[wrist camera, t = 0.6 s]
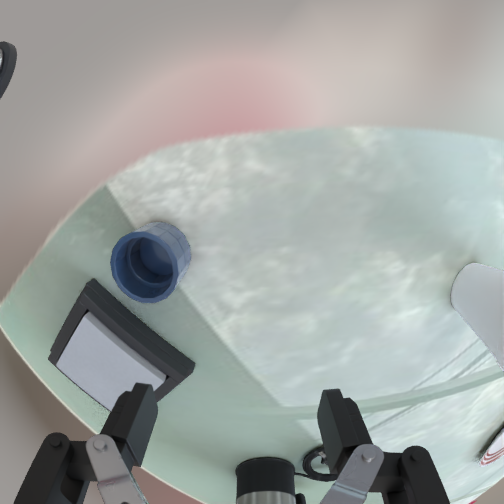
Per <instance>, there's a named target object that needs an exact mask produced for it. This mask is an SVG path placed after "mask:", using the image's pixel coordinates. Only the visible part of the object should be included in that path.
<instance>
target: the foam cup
mask: <svg viewBox="0 0 504 504" xmlns="http://www.w3.org/2000/svg"><path fill="white" fill-rule="evenodd" d="M451 304H452V306H453V307H454V309H455V310H456V311H457V312H458V314H459V315H460V316H461V317H462V318H463V319H464V320H465V322H466V323H467V324H468V325H469V326H470V327H471V329H472V330H473V331H474V332H475V333H476V335H477V336H478V337H479V338H480V339H481V341H482V342H483V343H484V344H485V346H486V347H487V348H488V349H489V351H490V352H491V353H492V355H493V356H494V357H495V359H496V362H497V363H498V365H499V367H500V368H501V369H502V370H503V371H504V270H500V269H497V268H493V267H490V266H486V265H482V264H479V263H471V264H468V265H466V266H465V267H464V268H463V269H462V270H461V271H460V272H459V273H458V275H457V277H456V279H455V281H454V283H453V286H452V291H451Z"/></svg>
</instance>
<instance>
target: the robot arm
mask: <svg viewBox="0 0 504 504" xmlns="http://www.w3.org/2000/svg"><path fill="white" fill-rule="evenodd" d="M3 64H4V52H3V50H2V49H0V74H1V71H2V68H3ZM157 414H158V406H157V402H156V398H155V394H154V390H153V386H152V385H151V384H145V383H138V382H136V383H135V385H134V387H133V389H132V391H125V392H124V393H122V394H121V395H120V396H119V397H118V399H117V401H116V403H115V406H114V407H113V409H112V412H110V414H109V416H108V418H107V420H106V422H105V424H104V426H103V428H102V430H101V432H100V434H98V435H94V436H92V437H91V438H89V439H88V441H70V440H69V439H68V437H67V436H66V435H64V434H62V433H51V434H49V435H48V436H47V437H46V438H45V440H44V441H43V443H42V445H41V447H40V449H39V451H38V453H37V455H36V457H35V459H34V461H33V463H32V465H31V467H30V469H29V471H28V473H27V475H26V477H25V479H24V481H23V484H22V486H21V488H20V490H19V492H18V495H17V497H16V499H15V501H14V504H83V501H84V498H85V495H86V492H87V489H88V486H89V483H90V481H98V484H97V486H98V490H99V492H100V494H101V496H102V499H103V501H104V504H149V503H148V501H147V500H146V498H145V497H144V495H143V493H142V491H141V489H140V488H139V486H138V484H137V482H136V480H135V479H134V477H133V475H132V473H131V470H132V467H133V466H138V467H141V464H142V461H143V458H144V455H145V452H146V449H147V446H148V442H149V439H150V436H151V433H152V430H153V427H154V424H155V421H156V418H157ZM317 419H318V425H319V429H320V433H321V437H322V441H323V445H324V449H325V454H326V458H327V462H328V466H329V470H330V474H337V473H338V476H339V477H338V478H337V480H336V481H335V483H334V484H333V485H332V486H331V488H330V489H329V491H328V492H327V494H326V495H325V497H324V498H323V500H322V501H321V502H320V504H363V503H364V502H365V500H366V497H367V493H368V492H381V493H382V497H383V501H384V504H450V502H449V499H448V497H447V494H446V492H445V489H444V487H443V484H442V482H441V479H440V477H439V475H438V472H437V470H436V468H435V465H434V463H433V461H432V459H431V456H430V454H429V452H428V451H427V450H426V449H425V448H423V447H421V446H411V447H408V448H407V449H405V450H404V452H403V453H389V452H383V451H382V450H381V449H380V448H379V447H378V446H376V445H373V443H372V441H371V438H370V436H369V433H368V431H367V428H366V426H365V423H364V421H363V420H362V419H363V418H362V416H361V414H360V411H359V409H358V406H357V404H356V403H355V402H354V401H353V400H352V399H351V398H343V396H342V394H341V391H340V389H329V390H323V392H322V396H321V400H320V404H319V408H318V414H317Z"/></svg>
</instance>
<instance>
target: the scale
mask: <svg viewBox="0 0 504 504" xmlns="http://www.w3.org/2000/svg"><path fill="white" fill-rule="evenodd" d="M89 311H90V312H92V313H93V314H94V315H95V316H96V317H97V318H98V319H99V320H100V321H101V322H102V323H103V324H105V325H106V326H107V327H108V328H109V329H110V330H111V331H113V332H114V333H115V334H116V335H117V336H118V337H120V338H121V339H122V340H123V341H124V342H125V343H127V344H128V345H129V346H130V347H132V348H133V349H134V350H135V351H136V352H138V353H139V354H140V355H142V356H143V357H144V358H145V359H147V360H148V361H149V362H151V363H152V364H153V365H154V366H156V367H157V368H159V369H160V370H161V371H163V372H164V373H165V374H167V376H166V378H165V381H164V383H162V384H161V385H160V386H159V387H158V388H157V389H156V390H155V391H154V394H155V398H156V402H158V401H159V400H161V399H162V398H163V397H164V396H165V395H167V394H168V393H169V392H170V391H171V390H173V389H174V388H175V387H176V386H177V385H178V384H180V383H181V382H182V381H183V380H184V379H186V378H187V377H188V376H189V375H190V374H191V373H192V372H193V370H194V366H195V363H194V362H192V361H191V360H190V359H188V358H187V357H186V356H184V355H183V354H182V353H180V352H179V351H178V350H176V349H175V348H174V347H172V346H171V345H170V344H169V343H167V342H166V341H165V340H164V339H162V338H161V337H160V336H159V335H157V334H156V333H155V332H154V331H152V330H151V329H150V328H149V327H148V326H146V325H145V324H144V323H143V322H142V321H140V320H139V319H138V318H137V317H136V316H134V315H133V314H132V313H131V312H130V311H129V310H128V309H126V308H125V307H124V306H123V305H122V304H121V303H120V302H119V301H118V300H116V299H115V298H114V297H113V296H112V295H111V294H110V293H109V292H108V291H107V290H106V289H105V288H103V287H102V286H101V285H100V284H99V283H98V282H97V281H96V280H95V279H92V280H91V281H89V282H88V283H87V284H86V285H85V287H84V289H83V290H82V292H81V294H80V295H79V297H78V299H77V301H76V302H75V304H74V306H73V308H72V310H71V311H70V313H69V315H68V317H67V319H66V320H65V322H64V324H63V326H62V328H61V330H60V332H59V334H58V336H57V338H56V340H55V342H54V344H53V346H52V348H51V350H50V351H51V354H50V356H49V358H48V360H49V361H50V362H51V363H52V364H53V365H54V366H55V367H56V368H58V367H57V366H56V364H57V362H58V360H59V359H60V357H61V355H62V353H63V351H64V349H65V348H66V346H67V344H68V342H69V341H70V339H71V337H72V335H73V334H74V332H75V330H76V329H77V327H78V325H79V324H80V322H81V320H82V319H83V317H84V316H85V315H86V314H87V313H88V312H89ZM58 369H59V368H58ZM59 370H60V369H59ZM60 371H61V370H60ZM61 372H62V371H61ZM62 373H63V372H62ZM63 374H64V373H63ZM64 375H65V374H64ZM65 376H66V377H68V376H67V375H65ZM68 378H69V377H68ZM69 379H70V378H69ZM70 380H71V379H70ZM71 381H72V380H71ZM72 382H73V381H72ZM73 383H74V384H76V383H75V382H73ZM76 385H77V384H76ZM77 386H78V385H77ZM78 387H79V386H78ZM79 388H80V389H82V388H81V387H79ZM82 390H83V389H82ZM83 391H84V390H83ZM84 392H85V391H84ZM85 393H86V394H88V393H87V392H85ZM88 395H89V394H88ZM89 396H90V395H89ZM90 397H92V396H90ZM92 398H93V397H92ZM93 399H94V398H93ZM94 400H95V401H97V400H96V399H94ZM97 402H98V401H97ZM98 403H99V402H98ZM99 404H101V403H99ZM101 405H102V404H101ZM102 406H103V405H102ZM103 407H105V406H103ZM105 408H106V407H105ZM106 409H107V408H106ZM107 410H109V409H107ZM109 411H110V410H109ZM110 412H112V411H110Z"/></svg>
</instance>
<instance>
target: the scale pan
mask: <svg viewBox="0 0 504 504" xmlns="http://www.w3.org/2000/svg"><path fill="white" fill-rule="evenodd" d="M56 366H57V367H58V368H59V369H60V370H61V371H62V372H63V373H64V374H65V375H67V376H68V377H69V378H70V379H71V380H72V381H73V382H75V383H76V384H77V385H78V386H79V387H81V388H82V389H83V390H84V391H85V392H87V393H88V394H89V395H90V396H92V397H93V398H94V399H96V400H97V401H98V402H99V403H101V404H102V405H103V406H105V407H106V408H107V409H109V410H110V411H112V409H113V407H114V406H115V403H116V401H117V399H118V397H119V396H120V395H121V394H122V393H124V392H125V391H132V389H133V387H134V385H135V383H136V382H138V383H145V384H151V385H152V386H153V390H154V391H155V390H156V389H157V388H158V387H159V386H160V385H161V384H162V383H164V381H165V378H166V376H167V374H165V373H164V372H163V371H161V370H160V369H159V368H157V367H156V366H154V365H153V364H152V363H151V362H149V361H148V360H147V359H145V358H144V357H143V356H142V355H140V354H139V353H138V352H136V351H135V350H134V349H133V348H132V347H130V346H129V345H128V344H127V343H125V342H124V341H123V340H122V339H121V338H120V337H118V336H117V335H116V334H115V333H114V332H113V331H111V330H110V329H109V328H108V327H107V326H106V325H105V324H103V323H102V322H101V321H100V320H99V319H98V318H97V317H96V316H95V315H94V314H93V313H92V312H90V311H89V312H88V313H87V314H86V315H85V316H84V317H83V319H82V320H81V322H80V324H79V325H78V327H77V329H76V330H75V332H74V334H73V335H72V337H71V339H70V341H69V342H68V344H67V346H66V348H65V349H64V351H63V353H62V355H61V357H60V359H59V360H58V362H57V364H56Z"/></svg>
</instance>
